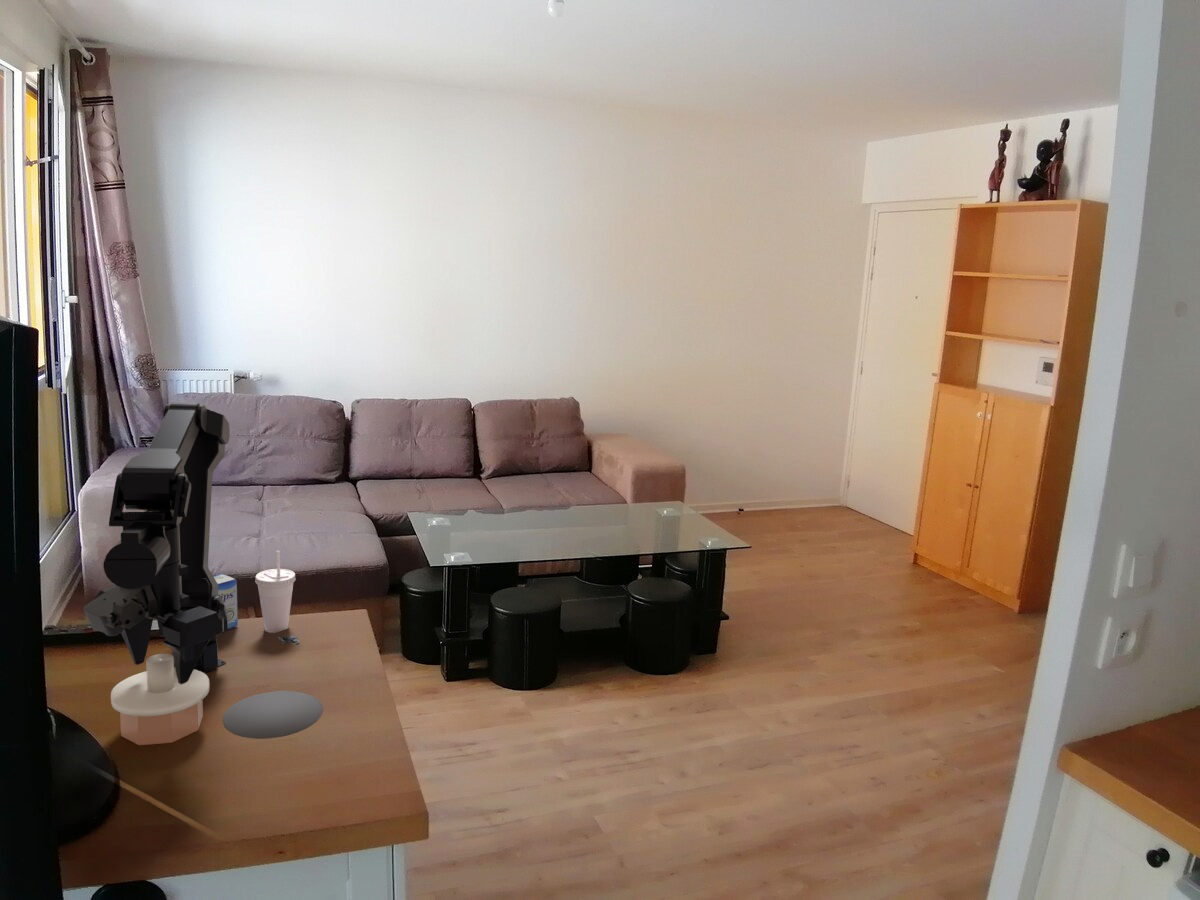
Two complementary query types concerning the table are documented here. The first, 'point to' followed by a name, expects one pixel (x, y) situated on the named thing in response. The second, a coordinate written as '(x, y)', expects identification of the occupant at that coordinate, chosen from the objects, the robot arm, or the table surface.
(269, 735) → the mat
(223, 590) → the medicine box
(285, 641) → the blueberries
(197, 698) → the lid
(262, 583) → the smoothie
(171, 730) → the bowl
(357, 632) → the table surface
